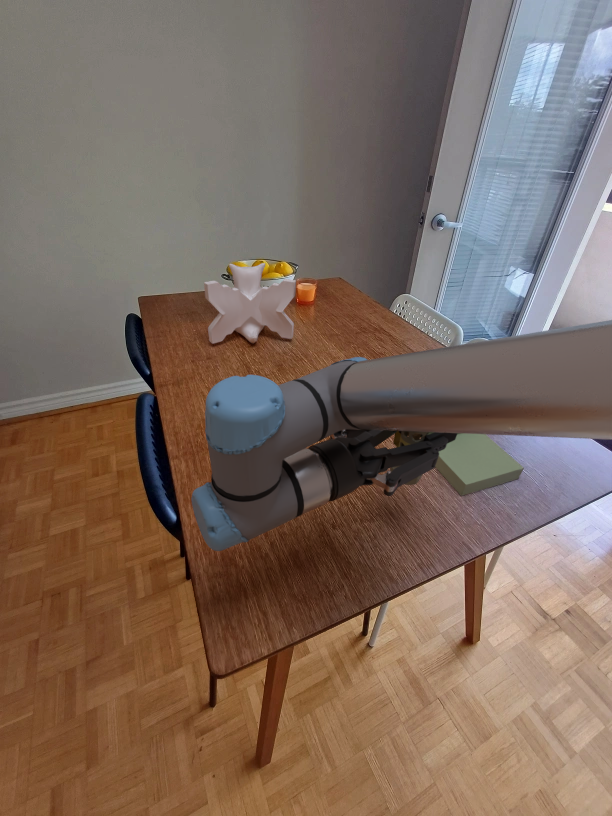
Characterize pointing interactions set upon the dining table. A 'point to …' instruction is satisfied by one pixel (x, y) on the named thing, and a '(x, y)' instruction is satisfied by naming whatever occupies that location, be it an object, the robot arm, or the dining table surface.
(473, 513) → the dining table surface
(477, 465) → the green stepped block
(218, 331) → the white x-shaped connector
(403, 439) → the grenade
